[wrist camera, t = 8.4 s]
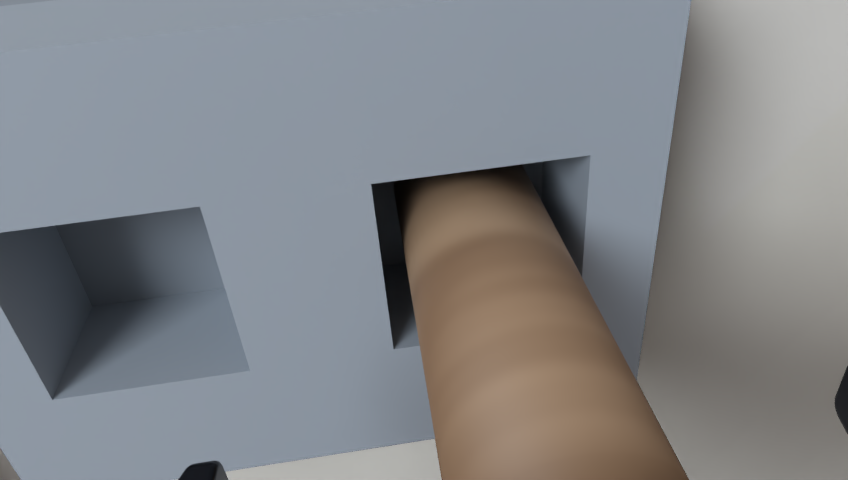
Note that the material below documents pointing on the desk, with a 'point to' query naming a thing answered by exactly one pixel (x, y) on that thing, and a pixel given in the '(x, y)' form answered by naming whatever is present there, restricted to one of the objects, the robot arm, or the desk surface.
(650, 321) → the desk surface
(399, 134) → the socket block
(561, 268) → the dowel
